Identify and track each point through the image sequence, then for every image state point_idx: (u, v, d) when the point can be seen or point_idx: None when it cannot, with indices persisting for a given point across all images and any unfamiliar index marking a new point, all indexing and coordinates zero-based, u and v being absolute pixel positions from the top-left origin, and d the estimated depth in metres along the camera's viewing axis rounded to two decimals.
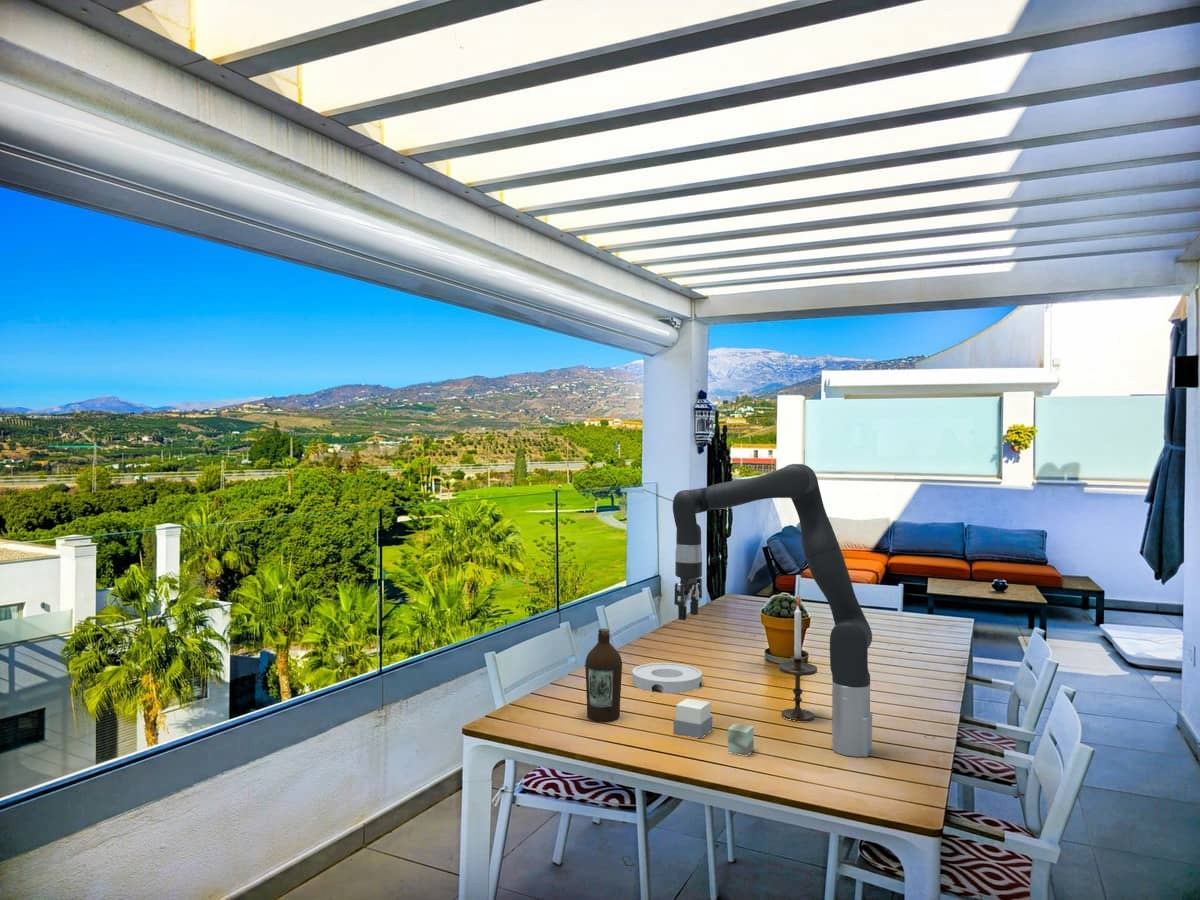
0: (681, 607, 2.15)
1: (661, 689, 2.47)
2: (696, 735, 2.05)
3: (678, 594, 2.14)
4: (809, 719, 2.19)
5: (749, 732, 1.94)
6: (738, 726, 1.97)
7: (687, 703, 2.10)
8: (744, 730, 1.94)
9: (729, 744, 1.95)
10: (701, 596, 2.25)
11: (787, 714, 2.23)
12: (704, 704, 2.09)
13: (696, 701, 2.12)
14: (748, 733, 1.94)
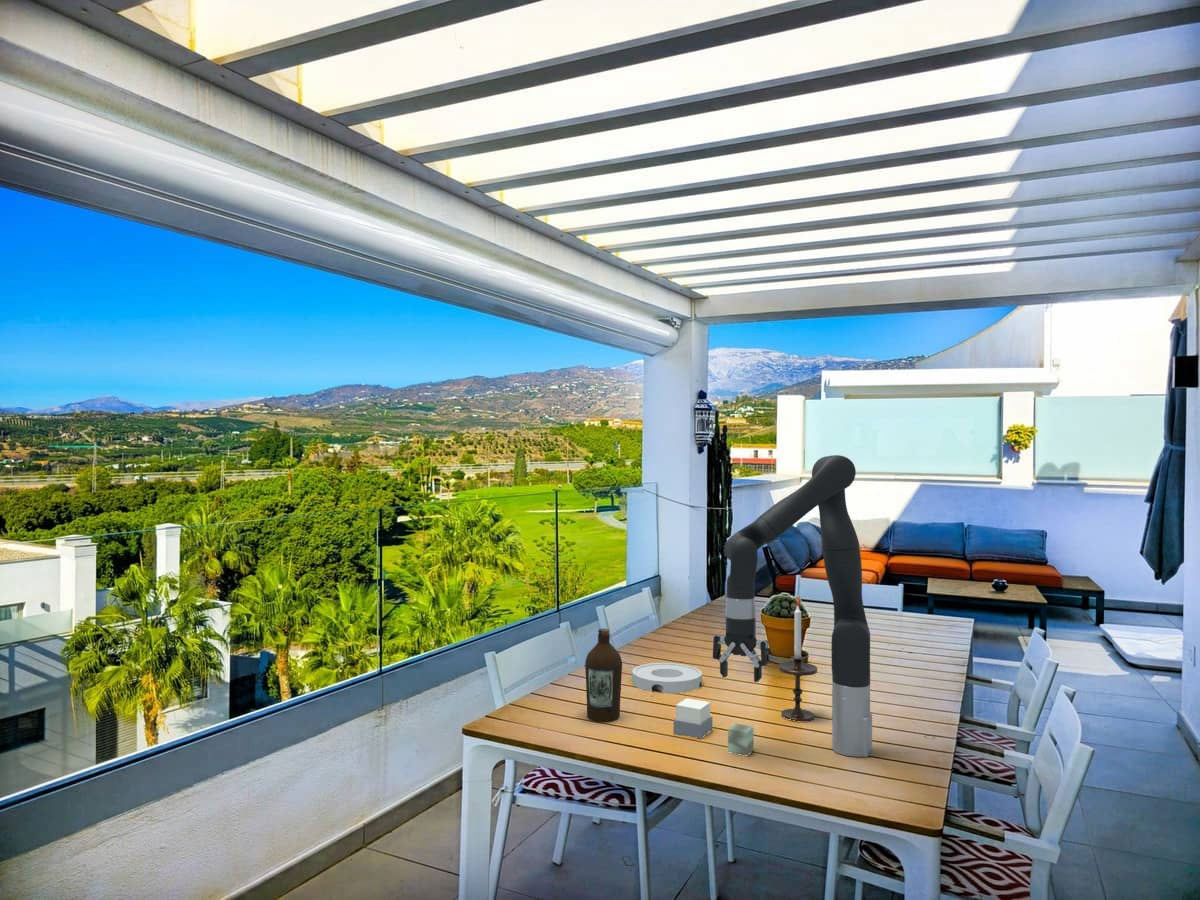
0: (761, 667, 1.94)
1: (661, 689, 2.47)
2: (696, 735, 2.05)
3: (767, 653, 1.93)
4: (809, 719, 2.19)
5: (749, 732, 1.94)
6: (738, 726, 1.97)
7: (687, 703, 2.10)
8: (744, 730, 1.94)
9: (729, 744, 1.95)
10: None
11: (787, 714, 2.23)
12: (704, 705, 2.09)
13: (696, 701, 2.12)
14: (748, 733, 1.94)
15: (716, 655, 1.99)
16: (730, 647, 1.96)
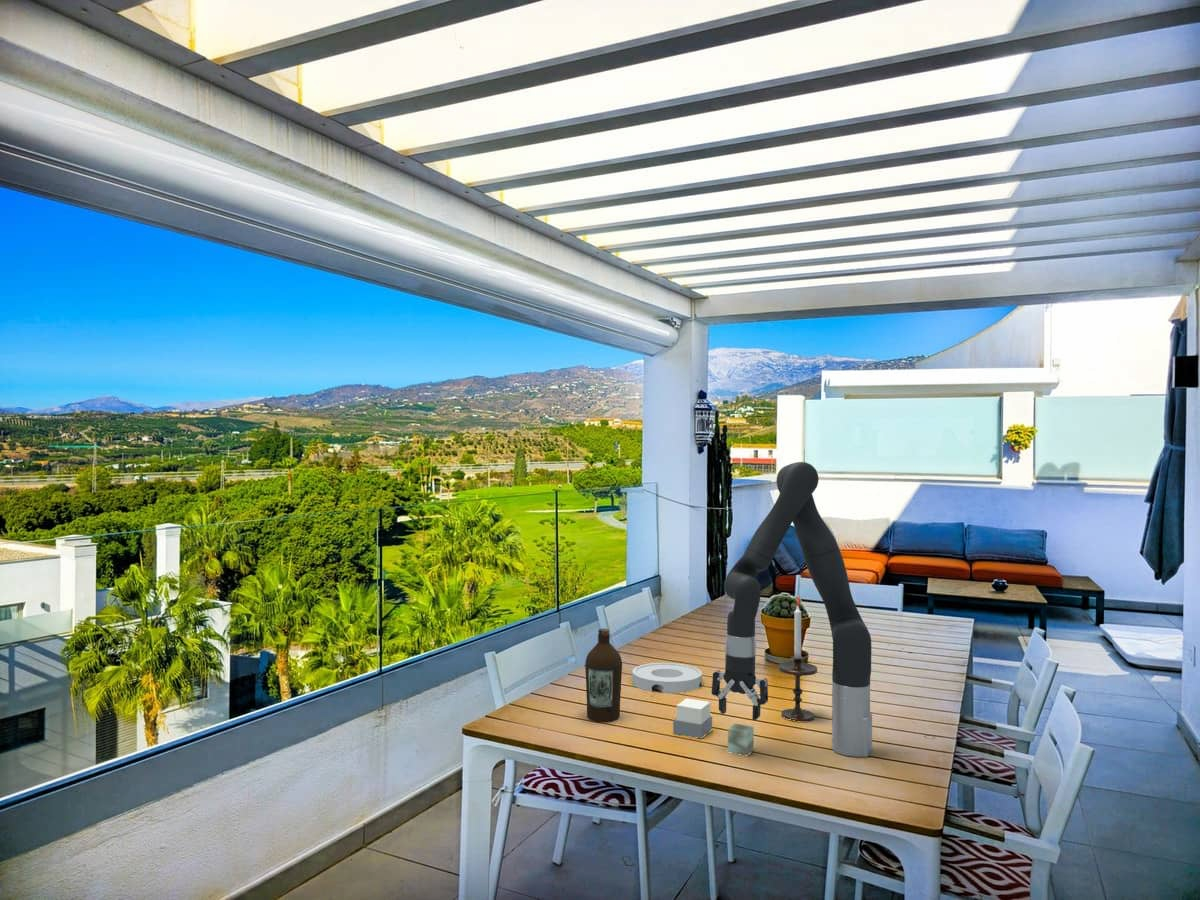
0: (759, 705, 1.94)
1: (661, 689, 2.47)
2: (696, 735, 2.05)
3: (766, 691, 1.93)
4: (809, 719, 2.19)
5: (749, 732, 1.94)
6: (738, 726, 1.97)
7: (687, 703, 2.10)
8: (744, 730, 1.94)
9: (729, 744, 1.95)
10: None
11: (787, 714, 2.23)
12: (704, 704, 2.09)
13: (696, 701, 2.12)
14: (748, 733, 1.94)
15: (715, 691, 1.99)
16: (729, 684, 1.96)
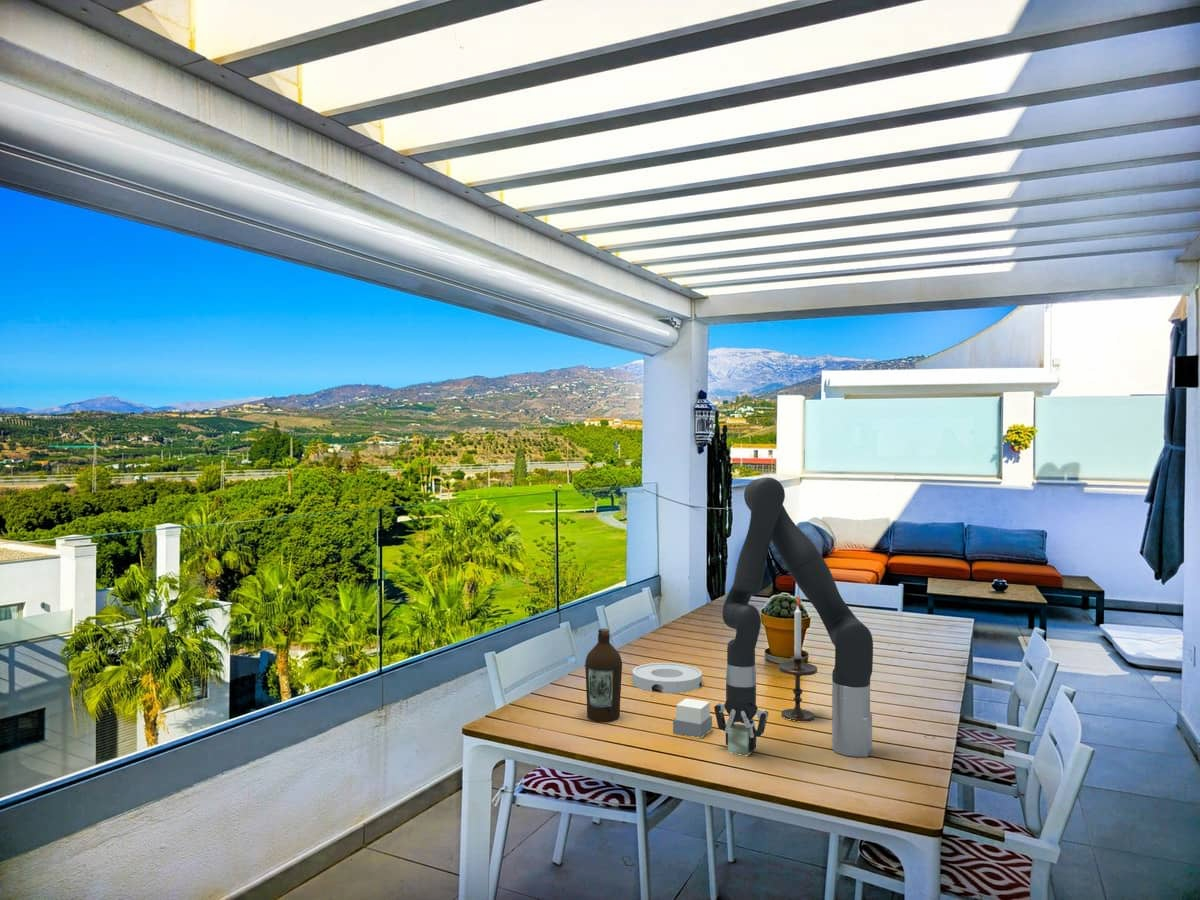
0: (755, 737, 1.94)
1: (661, 689, 2.47)
2: (695, 735, 2.06)
3: (764, 724, 1.93)
4: (809, 719, 2.19)
5: None
6: (738, 726, 1.97)
7: (687, 703, 2.10)
8: (744, 730, 1.94)
9: (729, 744, 1.95)
10: None
11: (787, 714, 2.23)
12: (704, 704, 2.09)
13: (696, 701, 2.12)
14: (748, 733, 1.94)
15: (721, 725, 1.98)
16: (731, 715, 1.96)
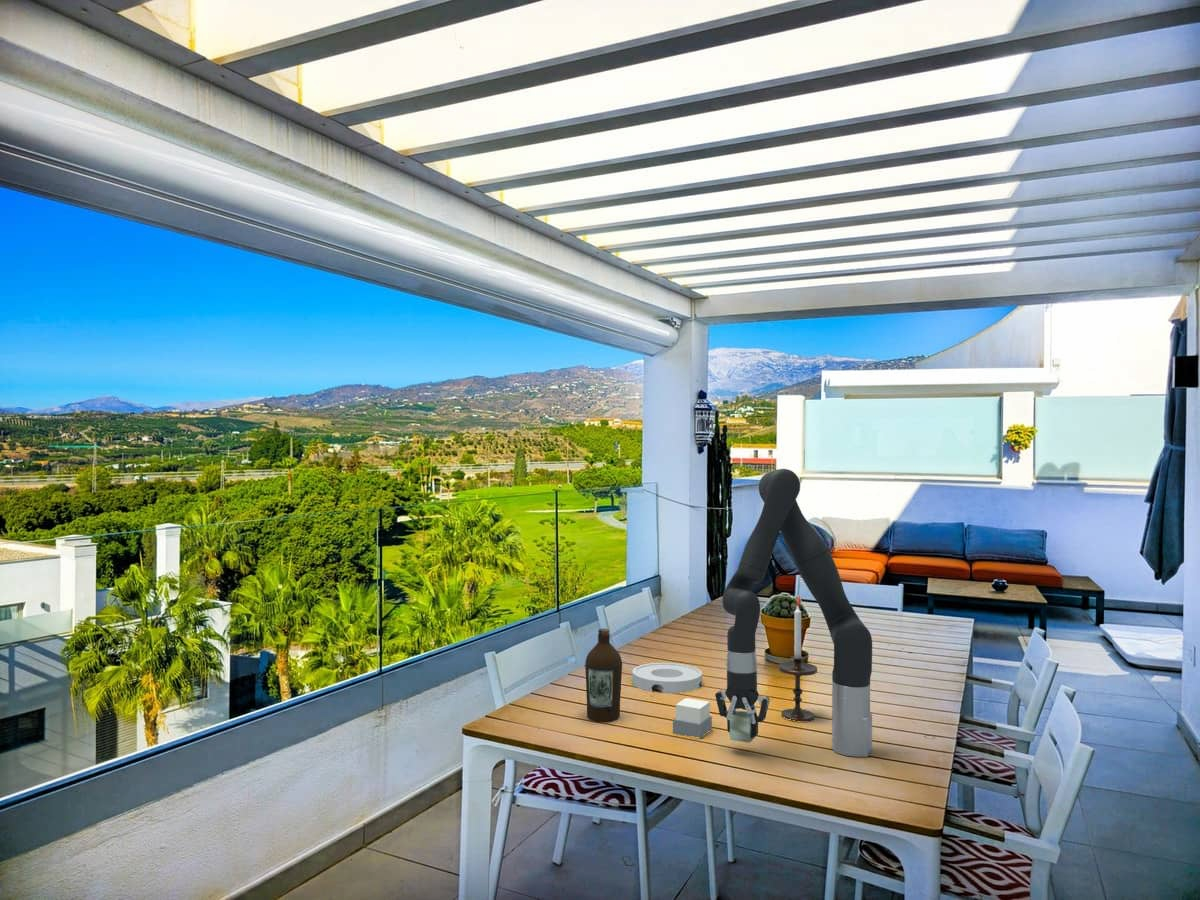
0: (757, 723, 1.94)
1: (661, 689, 2.47)
2: (695, 734, 2.06)
3: (766, 710, 1.93)
4: (809, 719, 2.19)
5: None
6: (740, 713, 1.97)
7: (686, 703, 2.11)
8: (746, 716, 1.94)
9: (731, 731, 1.94)
10: None
11: (787, 714, 2.23)
12: (703, 704, 2.09)
13: (696, 701, 2.12)
14: (750, 719, 1.93)
15: (723, 712, 1.97)
16: (733, 702, 1.95)
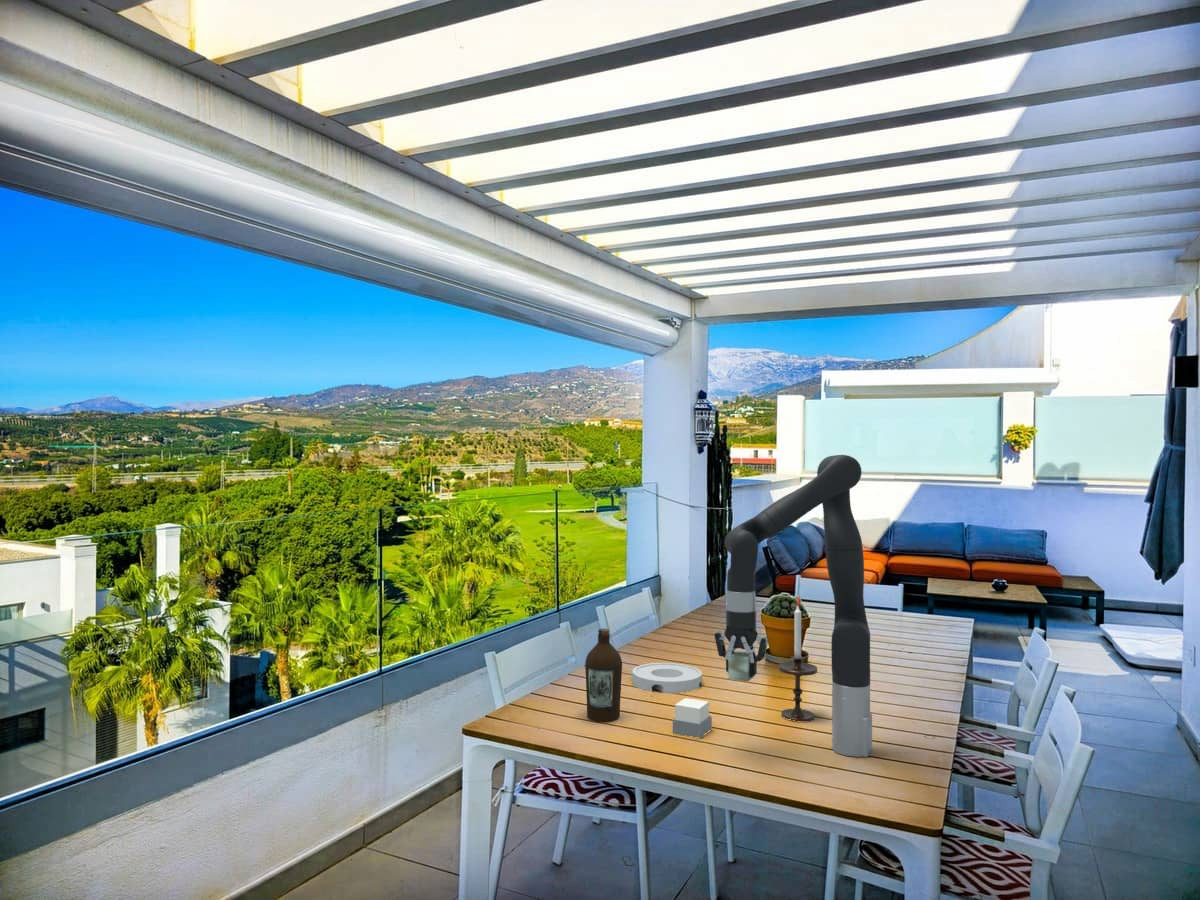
0: (756, 662, 1.95)
1: (661, 689, 2.47)
2: (695, 734, 2.06)
3: (764, 649, 1.93)
4: (809, 719, 2.19)
5: None
6: (738, 653, 1.97)
7: (685, 703, 2.10)
8: (744, 656, 1.94)
9: (730, 670, 1.95)
10: None
11: (787, 714, 2.23)
12: (702, 704, 2.09)
13: (695, 701, 2.12)
14: (748, 658, 1.94)
15: (721, 652, 1.98)
16: (732, 641, 1.96)
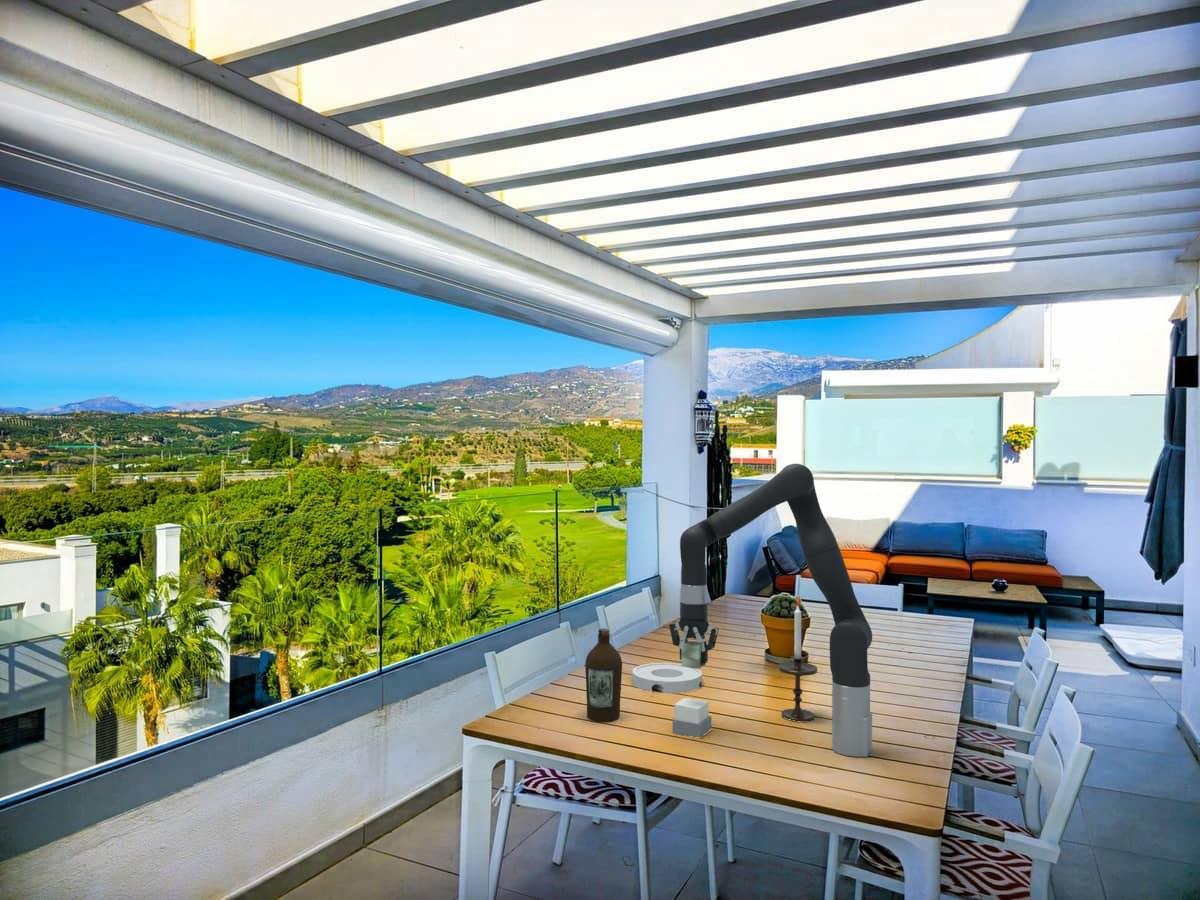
0: (707, 651, 2.09)
1: (661, 689, 2.47)
2: (695, 735, 2.06)
3: (714, 639, 2.07)
4: (809, 719, 2.19)
5: None
6: (691, 642, 2.11)
7: (685, 703, 2.11)
8: (696, 645, 2.08)
9: (682, 658, 2.09)
10: None
11: (787, 714, 2.23)
12: (702, 704, 2.10)
13: (694, 700, 2.13)
14: (700, 647, 2.08)
15: (676, 641, 2.12)
16: (685, 631, 2.10)
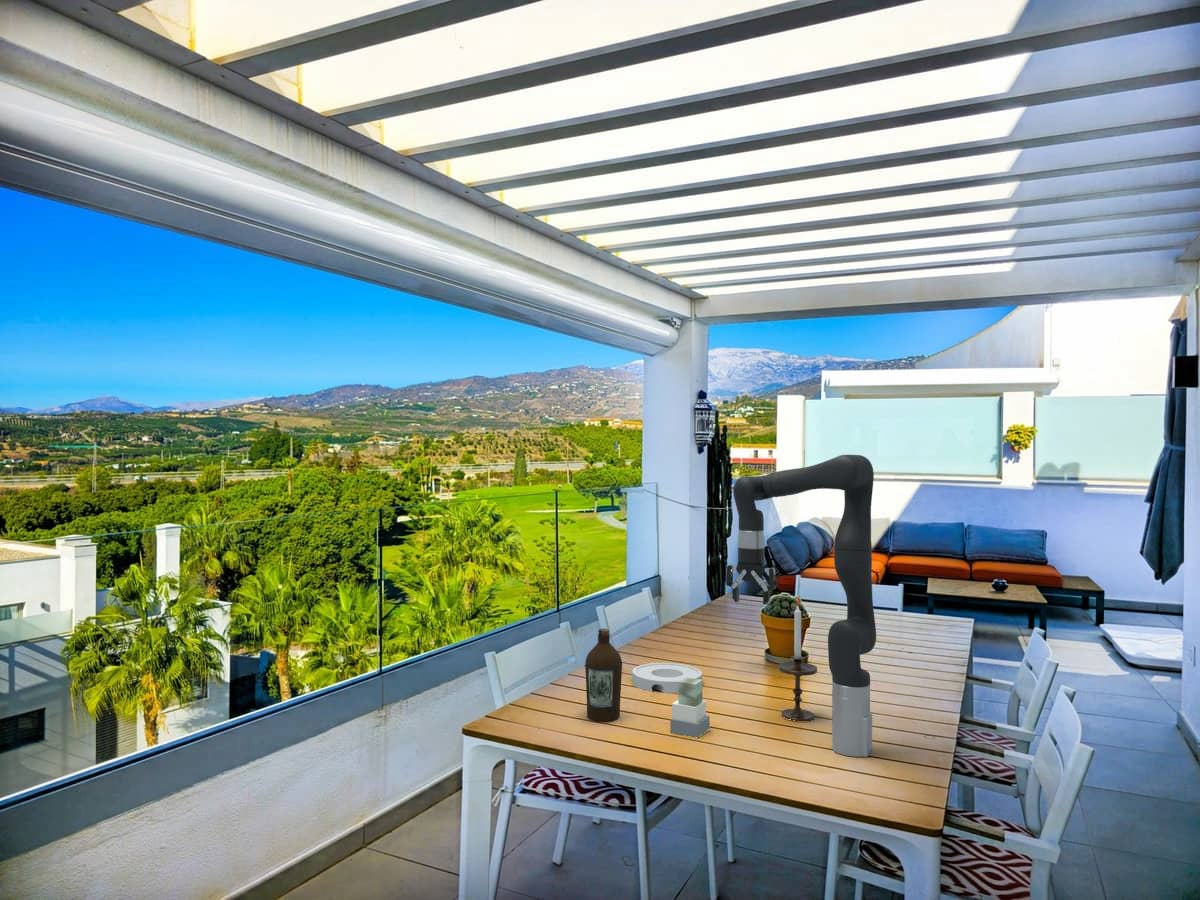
0: (769, 591, 2.19)
1: (661, 689, 2.47)
2: (692, 734, 2.06)
3: (774, 578, 2.18)
4: (809, 719, 2.19)
5: (698, 684, 2.09)
6: (688, 679, 2.12)
7: None
8: (693, 682, 2.09)
9: (679, 696, 2.09)
10: None
11: (787, 714, 2.23)
12: None
13: None
14: (697, 685, 2.08)
15: (729, 582, 2.23)
16: (742, 574, 2.21)
